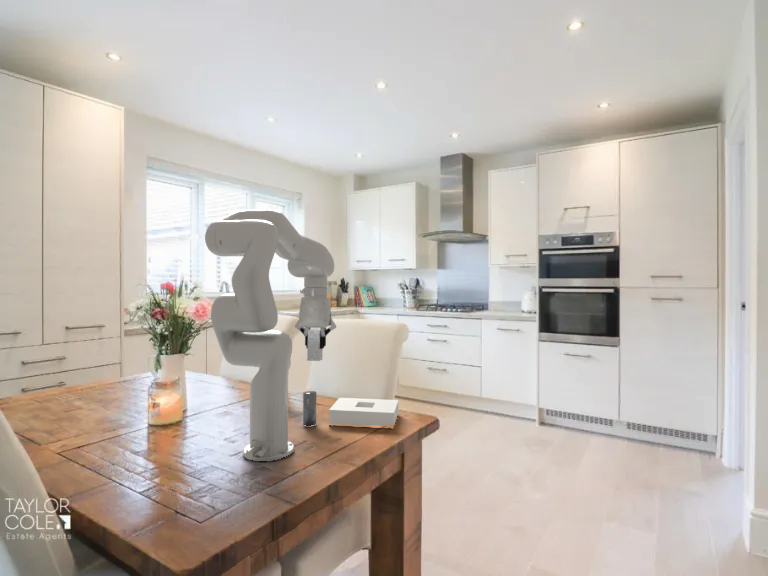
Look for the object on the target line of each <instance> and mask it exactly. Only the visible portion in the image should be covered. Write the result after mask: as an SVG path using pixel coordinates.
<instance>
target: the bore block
mask: <svg viewBox="0 0 768 576" xmlns="http://www.w3.org/2000/svg"><path fill="white" fill-rule="evenodd" d="M397 415H398V416H399V400H398V399H385V398H384V399H378V398H360V397H359V398H358V397H357V398H356V397H354V398H353V397H338V399H336V401H335V402H334V403H333V405H332V406H331V407H330V408H329V409H328V425H329V424H347V425H348V424H349V425H379V426H394V424H395V421H396V418H397ZM397 419H398V418H397ZM396 422H397V421H396ZM395 425H396V424H395Z"/></svg>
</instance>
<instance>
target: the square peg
mask: <svg viewBox="0 0 768 576" xmlns="http://www.w3.org/2000/svg"><path fill="white" fill-rule="evenodd" d="M320 337H321V329H312V328H311V329H310V330H308V348H306V350H307V352H306V353H307V354H306V355H307V357H306V361H308V362H310V361H311V362H312V361H313V362H320V361H322V360H323V349H324V348H323V349H320Z"/></svg>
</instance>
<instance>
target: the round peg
mask: <svg viewBox="0 0 768 576" xmlns="http://www.w3.org/2000/svg"><path fill="white" fill-rule="evenodd" d="M302 399H303V400H302V402H303V406H302V407H303V409H302V425H306V426H311V425H315V424H316V425H317V391H313V390H307V391H304V392H303V394H302Z"/></svg>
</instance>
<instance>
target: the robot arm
mask: <svg viewBox="0 0 768 576" xmlns="http://www.w3.org/2000/svg"><path fill="white" fill-rule="evenodd" d="M204 240H205V242H204V243H205V245H206V247H207V249H208V250H209V251H210V252H211V254H212V255H214V256H218V257H242V258H241V260H240V262H239V263H238V265H237V266H236V268H235V269H234V271H233V274H232V276H231V286H232V287H231V288H232V290H233V292H232V293H224V294H221V295H219V296H217V297H216V298H215V299H214V301H213V302H212V305H211V310H210V320H211V325H212V328H213V331H214V334H215V338H216V339H217V342H218V346H219V347H220V348H219V349H220V350H221V353H222V356H223V358H224V359H225V361H226V362H227V363H228V364H230V365H233V366H239V367H255V368H259V369H258V371H257V373H256V374H254V376H253V378H252V379H251V382H250V385H249V444H248V445H246V446H245V447H244V448H243V457H244V458H245V459H247V460H249V461H252V460H253V461H254V462H259V461H267V462H274V461H273V460H275V461H278V459H279V460H282V459H281V458H283V457H285V458H287V457H289V456H290V454H291V453H292V452H294V451H295V445H294V443H293V442H291V441H289V401H288V400H289V371H290V368H289V364H290V358H292V353H293V342H292V338H291V336H290V335H289V334H288V333H286V332H284V331H282V330H278V329H277V330H276V329H275V327H276V326H277V324H278V320H279V316H278V309H277V306H276V301H275V299H274V294H273V290H272V285H271V280H270V269H271V265H272V262H273V259H274V256H275V254H276V256H278V257H279V258H281V259H283V260H287V270H288V272H289V273H290V275H292V276H293V277H295V278H303V280H304V283H303V284H304V286H303V288H301V289H300V290H299V294H302V295H303V296H302V297H301V299H300V302H299V303H300V306H299V312H298V314H299V315H298V320H297V322H296V323H295V325H294V327H295V328H296V329H297V330H298V331H300V333H301V334H303V336H304V339H305V340H304V345H305V346H306V347H305V348H306V349H307V348H308V330H311V329H312V328H313V329H315V328H316V329H319V330H321V337H320V349H324V348H325V347H326V344H327V337H326V336H328V334H329V333H330V332H332V331H333V330H335V329H337V325H336V323H335V322H334V320H333V319H332V308H331V300H330V296H328V278H329V277H331V276H332V275H333V273H334V271H335V261H334V257H333V256H332V254H331V253H330V251H329V249H328V248H327V246H325V245H324V244H322V243H321V242H318V241H316V240H315V239H311V238H309V237H307V236H304V235H302V234H300V233H299V232H298V230H297V229H296V228H295V227H294V226H293V224H292V223H291V222H290V220H289V219H288V218H287V216H286V215H284V213H282V212H281V211H280V210H277V209H274V208H272V209H270V208H269V209H267V208H264V209H262V208H260V209H244V210H239V211H235V212H233V213H230V214H228V215H226V216H223V217H220V218H218V219H216V220H214V221H212V222H211V223H210V224H209V226H208V227H207V228H206V231H205V235H204ZM292 454H293V453H292ZM292 454H291V455H292ZM288 455H289V456H288ZM286 456H287V457H286ZM283 459H284V458H283ZM253 461H252V462H253Z"/></svg>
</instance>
